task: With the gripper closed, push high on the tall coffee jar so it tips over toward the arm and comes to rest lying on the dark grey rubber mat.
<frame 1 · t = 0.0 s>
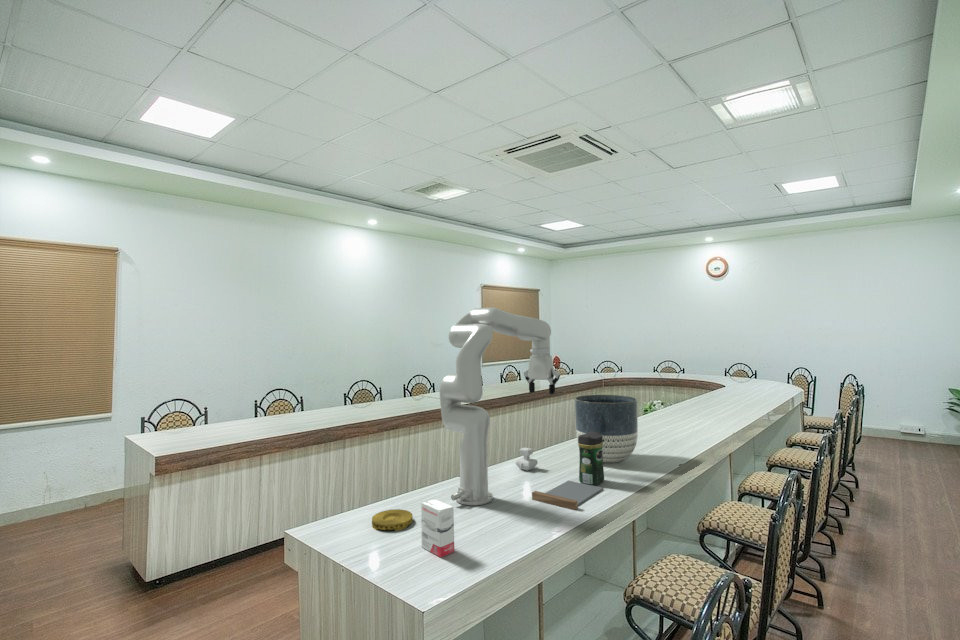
hand: (541, 393, 194), 31 cm above the table, fingers open, 9 cm apart
ink box: (437, 550, 122), on the table
coffee jar: (591, 482, 174), on the table
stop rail: (554, 503, 153), on the table
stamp: (526, 469, 192), on the table
golden flat disc: (392, 524, 139), on the table
mat: (571, 493, 162), on the table
planter: (607, 460, 204), on the table
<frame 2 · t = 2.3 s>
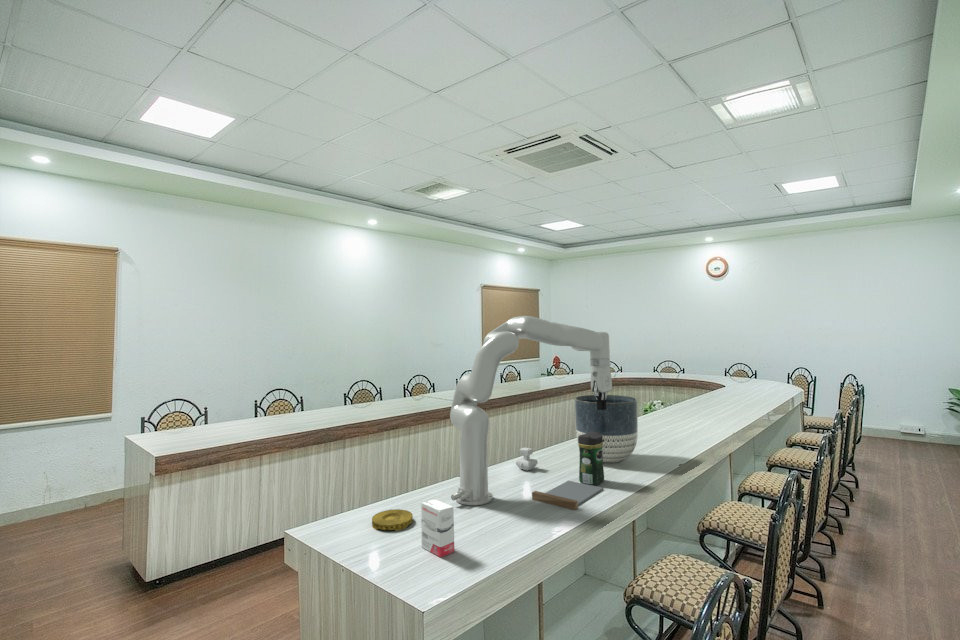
hand: (601, 409, 183), 26 cm above the table, fingers closed
nothing on the table moved.
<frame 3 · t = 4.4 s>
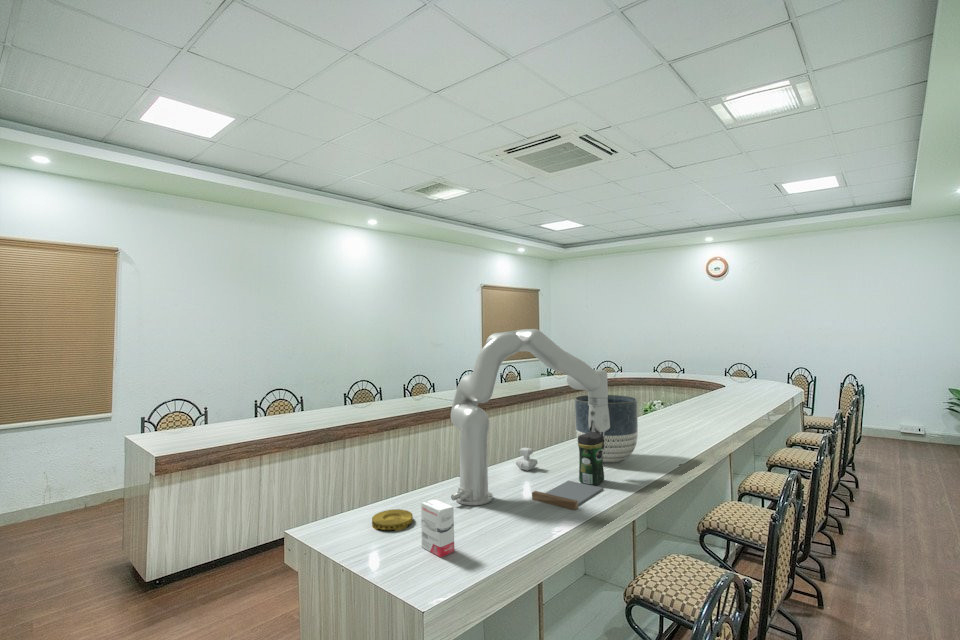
hand: (599, 448, 180), 11 cm above the table, fingers closed
coffee jar: (591, 482, 174), on the table, touching gripper
everything else where it was.
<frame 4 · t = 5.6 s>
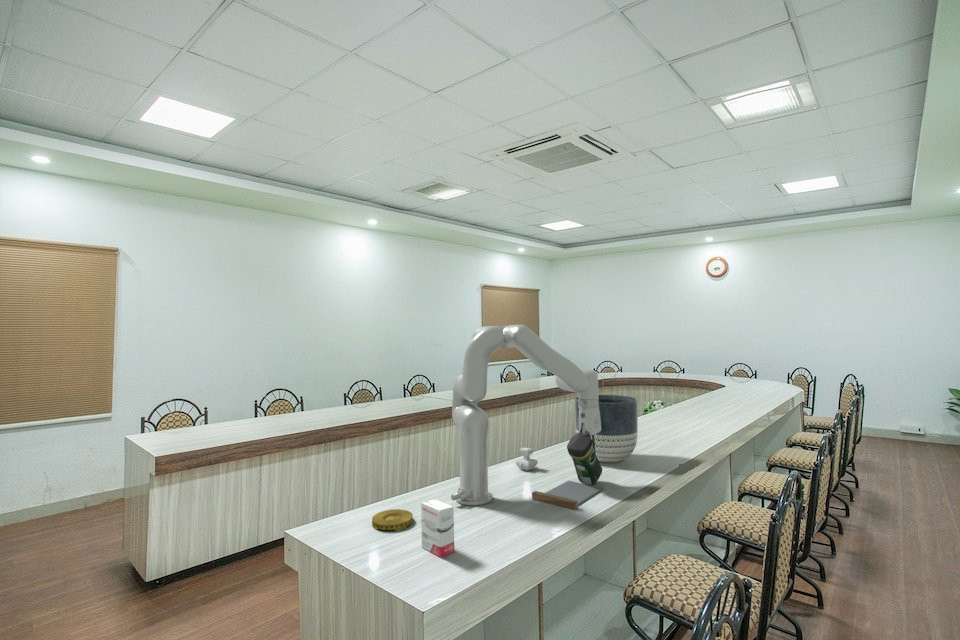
hand: (590, 452, 174), 11 cm above the table, fingers closed
coffee jar: (590, 476, 173), point 2 cm above the table, touching gripper, mat
everything else where it was.
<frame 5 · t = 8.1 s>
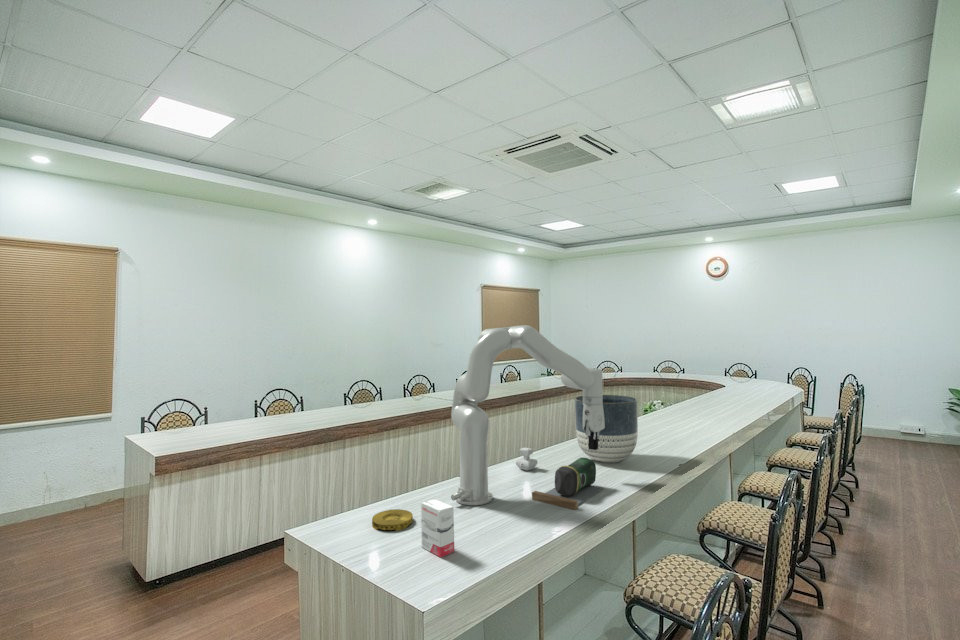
hand: (593, 449, 176), 12 cm above the table, fingers closed
coffee jar: (587, 470, 171), point 5 cm above the table, touching mat
everything else where it was.
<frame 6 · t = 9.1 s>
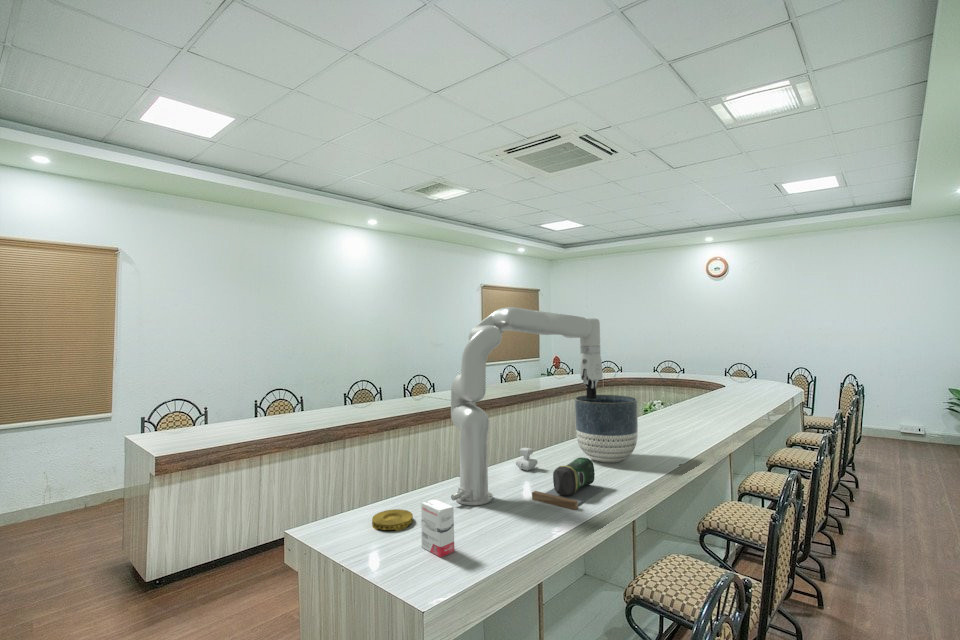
hand: (591, 398, 177), 31 cm above the table, fingers closed
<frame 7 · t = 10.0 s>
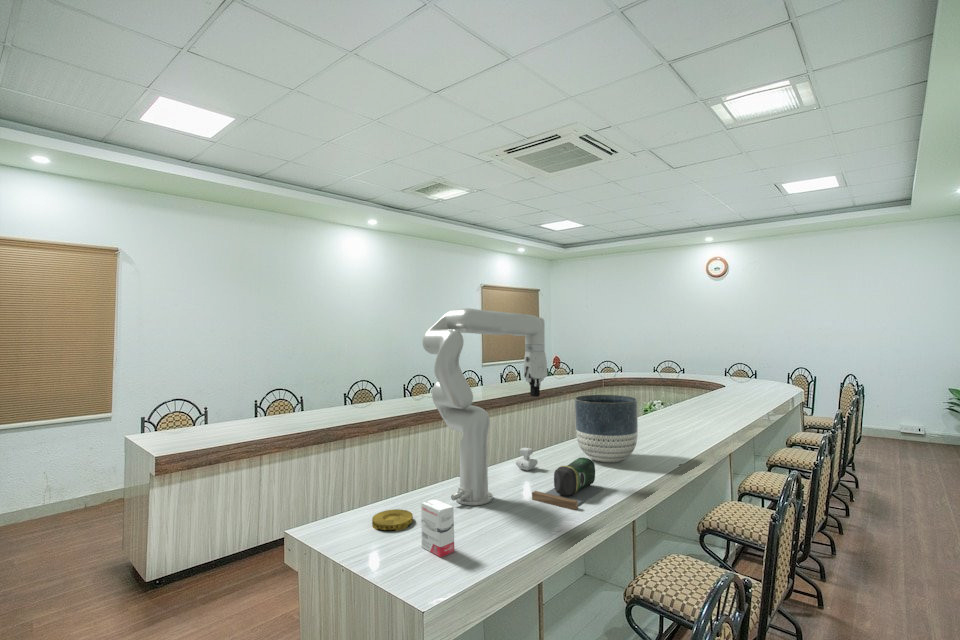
hand: (535, 396, 179), 32 cm above the table, fingers closed
nothing on the table moved.
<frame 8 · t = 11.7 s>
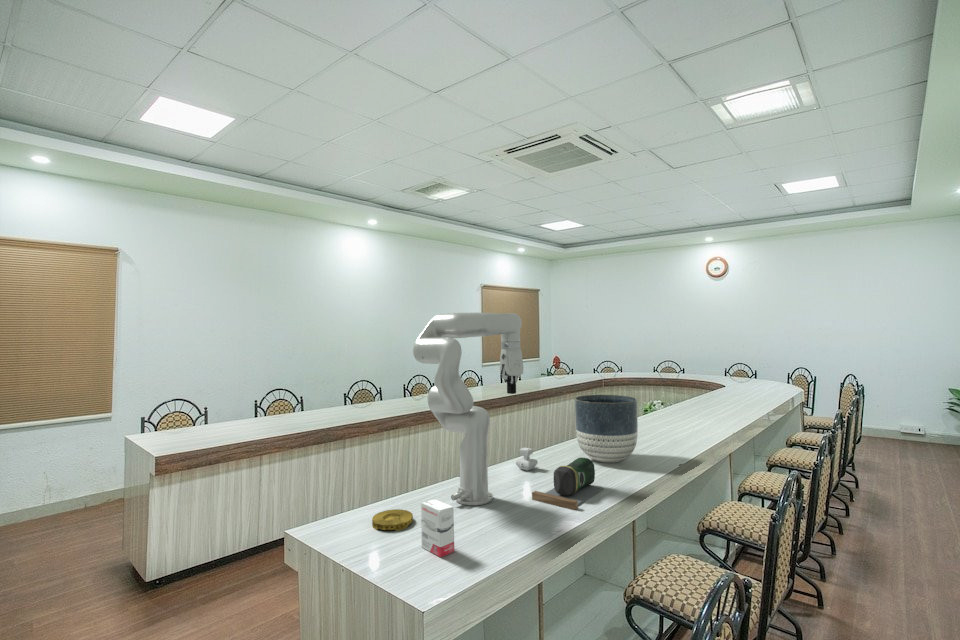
hand: (511, 393, 181), 33 cm above the table, fingers closed
nothing on the table moved.
at the end: coffee jar tilted 89°; coffee jar inside the target area (4.0 cm from its centre), point 5.3 cm above the table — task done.
